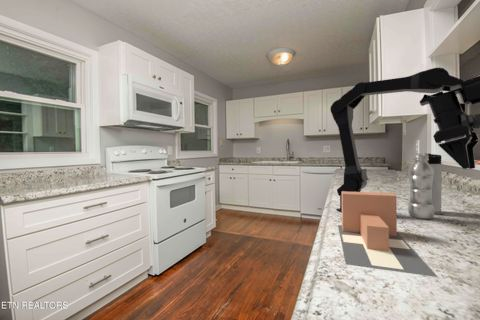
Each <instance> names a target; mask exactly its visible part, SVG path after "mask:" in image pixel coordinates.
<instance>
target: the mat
mask: <svg viewBox="0 0 480 320" xmlns="http://www.w3.org/2000/svg"><path fill="white" fill-rule="evenodd" d="M337 228H338V232H339V239H340V242H341V243H340V244H341V247H342V252H343V257H344V262H345V265H349V266H355V267H362V268H363V267H364V268H369V269H370V268H371V269H376V270H377V269H378V270H384V271H391V272H399V273H406V274H413V275H420V276H427V277H435V278H439V276H438V275H437V273H435V272H434V271H433V270H432V268H431V267H430V266H429V265H428V264H427V263H426V262H425V260H424V259H422V257H421V256H420V255H419V254H418V253H417V252H416V251H415V250H414V249H413V247H412V246H411V245H410V244H409V243H408V242H407V241H406V240H405V239H404V237H402V235H400V233H399V232H398V231H397V236H389V251H384V250H375V249H367V247H366V245H365V242H364V240H363V238H362V236H361V234H360V233H356V232H345V231H343V229H342V224H338V225H337Z"/></svg>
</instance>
